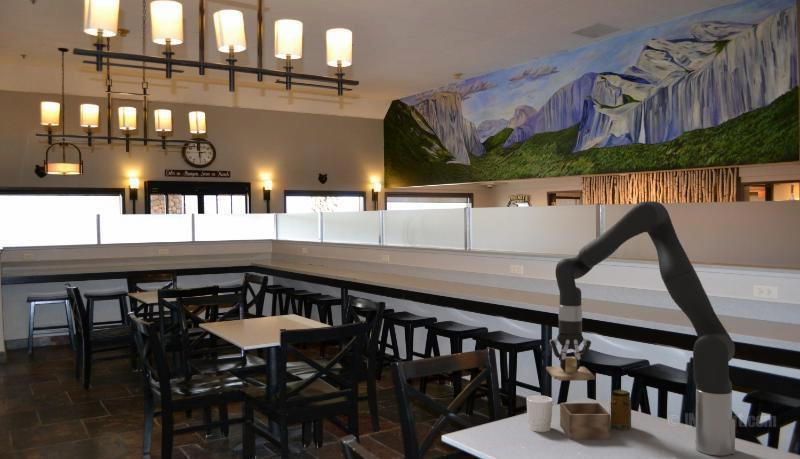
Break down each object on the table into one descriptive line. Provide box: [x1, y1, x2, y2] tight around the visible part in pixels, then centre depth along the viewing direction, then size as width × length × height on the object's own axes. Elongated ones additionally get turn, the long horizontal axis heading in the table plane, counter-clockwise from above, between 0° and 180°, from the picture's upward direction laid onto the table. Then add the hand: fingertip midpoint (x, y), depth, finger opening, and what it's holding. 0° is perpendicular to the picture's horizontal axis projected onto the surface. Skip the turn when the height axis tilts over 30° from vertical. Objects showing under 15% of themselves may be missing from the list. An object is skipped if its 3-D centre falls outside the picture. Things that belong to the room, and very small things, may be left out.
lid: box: [545, 356, 596, 382], centre depth 216 cm, size 13×13×6 cm
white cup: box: [526, 394, 553, 433], centre depth 202 cm, size 8×8×10 cm
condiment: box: [610, 389, 632, 431], centre depth 202 cm, size 7×8×12 cm
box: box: [559, 402, 611, 440], centre depth 198 cm, size 12×12×8 cm
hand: (570, 369), depth 216 cm, fingers closed on lid, 3 cm apart
